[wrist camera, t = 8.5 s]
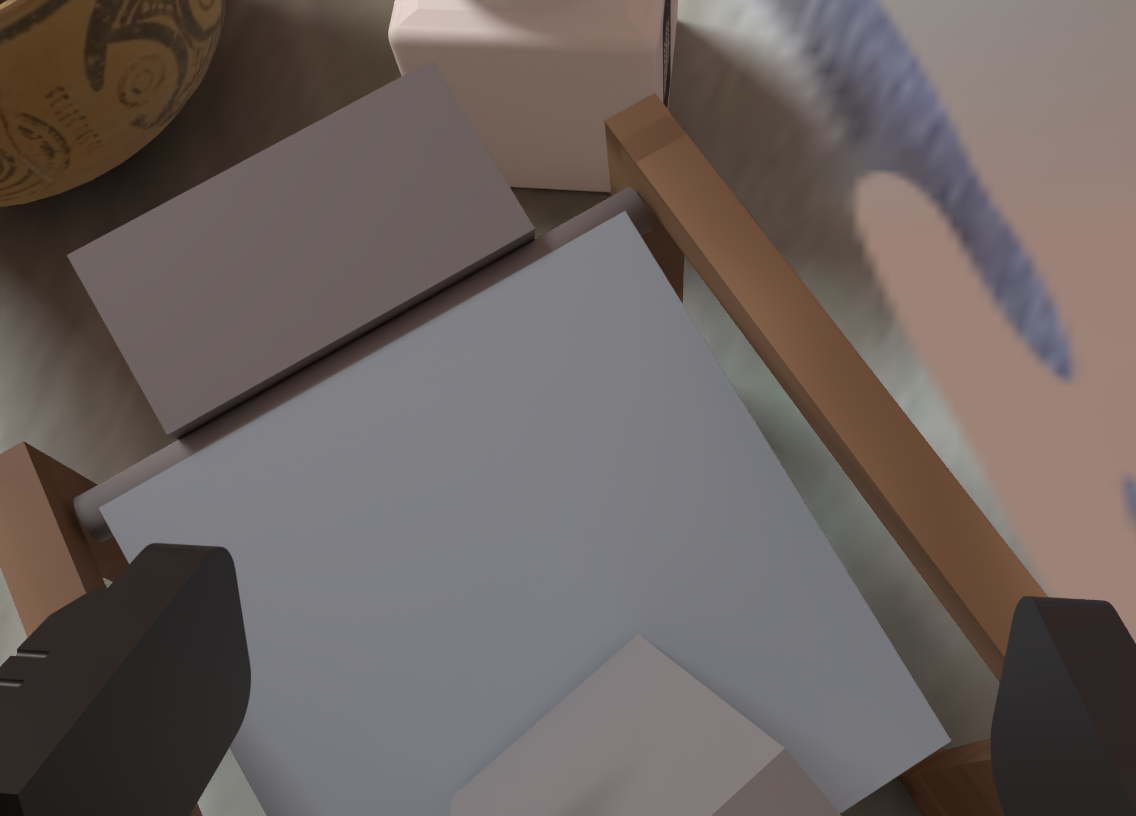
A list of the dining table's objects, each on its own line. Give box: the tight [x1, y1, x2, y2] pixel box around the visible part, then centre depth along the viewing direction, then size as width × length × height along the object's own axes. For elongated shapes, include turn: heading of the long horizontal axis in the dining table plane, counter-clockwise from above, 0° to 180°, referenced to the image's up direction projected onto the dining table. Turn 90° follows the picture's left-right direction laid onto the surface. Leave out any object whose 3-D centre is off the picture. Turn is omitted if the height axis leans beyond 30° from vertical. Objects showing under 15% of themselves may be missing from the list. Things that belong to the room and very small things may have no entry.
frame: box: [0, 93, 1048, 816], centre depth 25 cm, size 15×15×14 cm
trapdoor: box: [67, 60, 951, 816], centre depth 21 cm, size 12×16×2 cm
